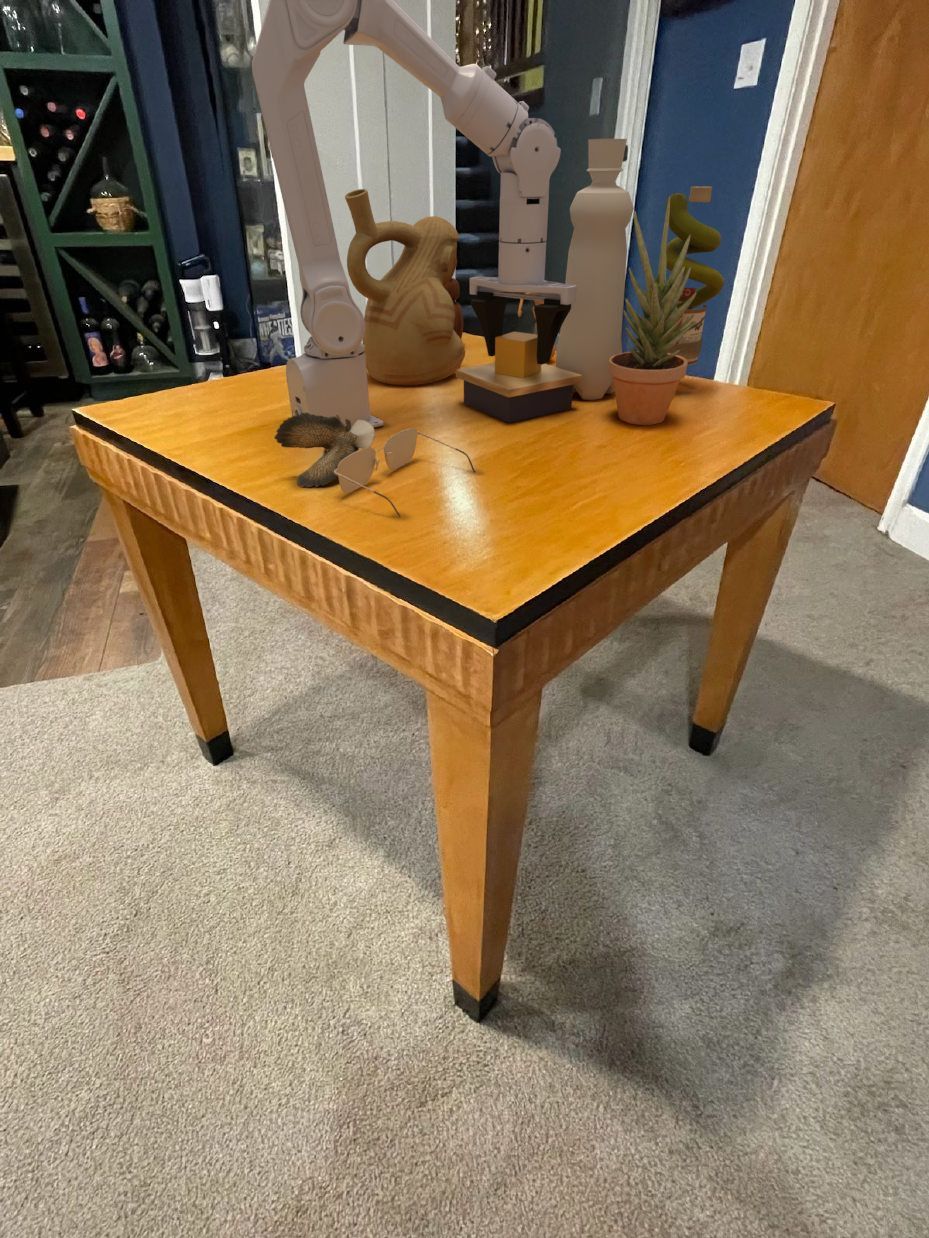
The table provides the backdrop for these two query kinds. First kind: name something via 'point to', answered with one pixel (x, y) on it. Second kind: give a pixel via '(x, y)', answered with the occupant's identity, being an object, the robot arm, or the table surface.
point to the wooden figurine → (456, 305)
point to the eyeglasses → (362, 462)
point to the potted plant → (652, 340)
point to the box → (518, 391)
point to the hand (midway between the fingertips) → (518, 358)
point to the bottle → (596, 272)
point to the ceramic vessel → (406, 297)
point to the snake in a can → (692, 267)
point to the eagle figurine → (324, 442)
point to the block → (516, 354)
